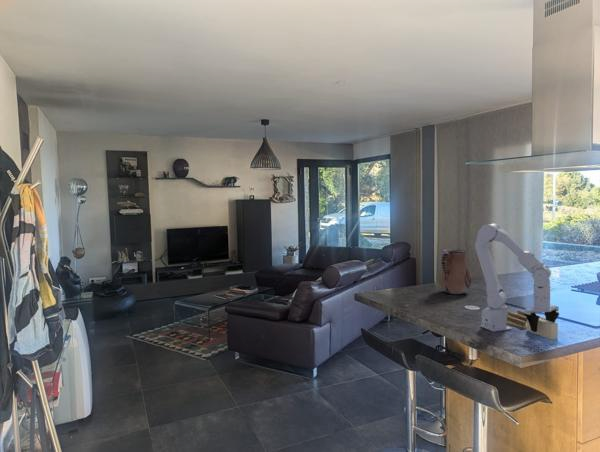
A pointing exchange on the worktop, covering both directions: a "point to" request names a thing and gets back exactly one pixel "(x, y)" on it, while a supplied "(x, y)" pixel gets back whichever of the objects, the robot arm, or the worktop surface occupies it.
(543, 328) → the cream rectangular block
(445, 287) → the ceramic pitcher
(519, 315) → the ridged tan board
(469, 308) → the worktop surface
